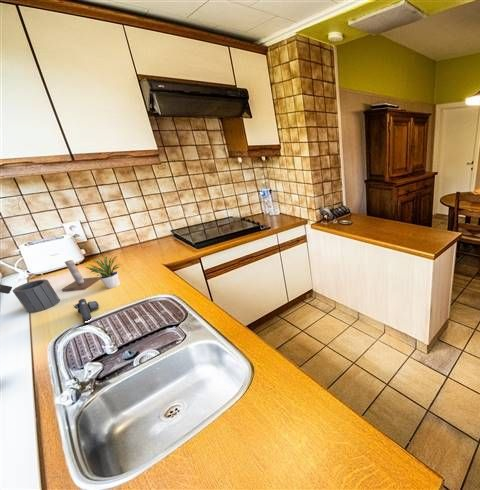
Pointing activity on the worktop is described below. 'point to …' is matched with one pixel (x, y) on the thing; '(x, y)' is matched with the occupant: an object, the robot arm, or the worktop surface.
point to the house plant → (106, 272)
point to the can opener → (86, 308)
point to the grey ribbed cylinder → (36, 295)
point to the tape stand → (78, 279)
